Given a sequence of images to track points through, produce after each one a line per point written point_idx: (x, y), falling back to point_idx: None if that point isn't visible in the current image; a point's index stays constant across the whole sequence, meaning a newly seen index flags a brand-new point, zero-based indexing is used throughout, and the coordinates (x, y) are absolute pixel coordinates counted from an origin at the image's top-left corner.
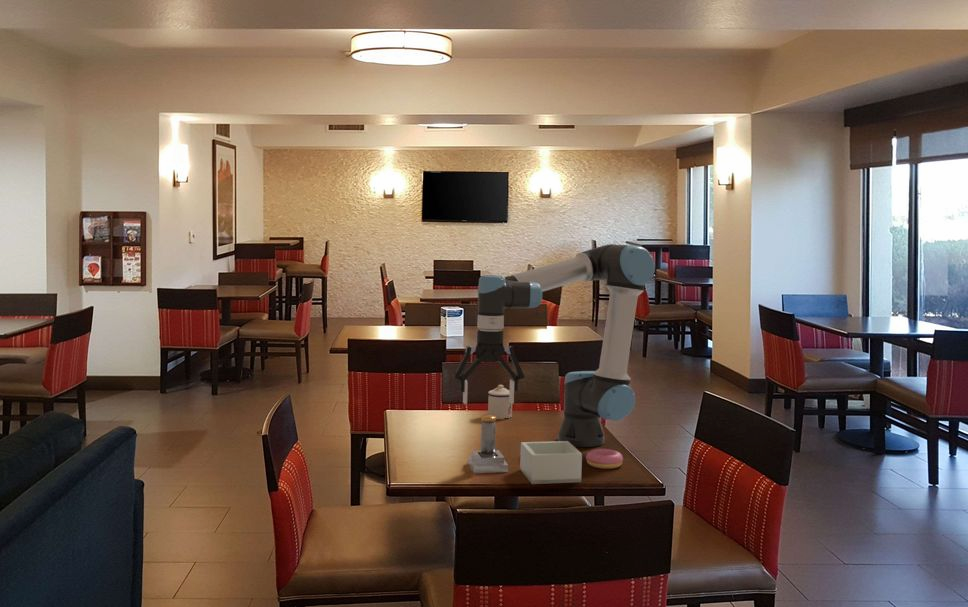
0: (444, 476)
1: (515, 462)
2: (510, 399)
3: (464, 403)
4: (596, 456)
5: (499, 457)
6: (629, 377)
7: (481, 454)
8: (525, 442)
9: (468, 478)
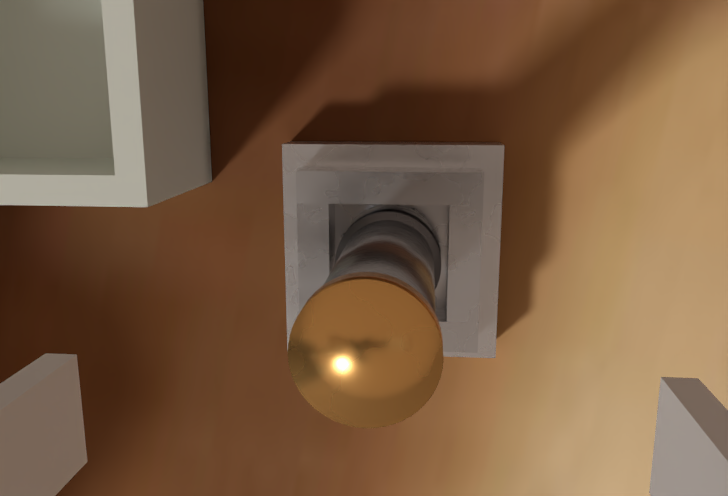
0: (694, 97)
1: (213, 324)
2: (58, 417)
3: (701, 383)
4: None
5: (327, 172)
6: None
7: (436, 243)
8: (114, 197)
9: (555, 37)
